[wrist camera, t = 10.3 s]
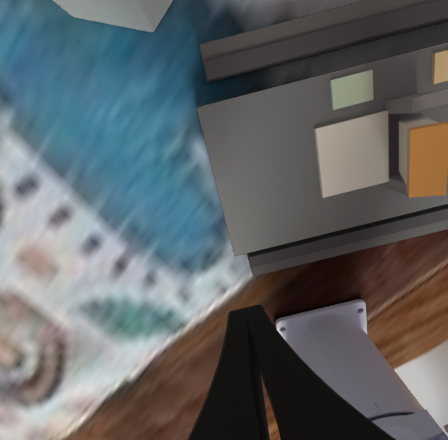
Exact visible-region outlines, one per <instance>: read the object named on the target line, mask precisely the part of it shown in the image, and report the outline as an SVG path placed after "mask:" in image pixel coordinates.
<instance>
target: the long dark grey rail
mask: <svg viewBox="0 0 448 440" xmlns="http://www.w3.org/2000/svg"><path fill="white" fill-rule="evenodd" d="M446 21H448V0H365V1H362V2H358V3H354V4H350V5H346V6H343V7H339V8H335V9H331V10H328V11H324V12H320V13H316V14H312V15H309V16H305V17H301V18H297V19H293V20H290V21H286V22H282V23H278V24H275V25H271V26H267V27H263V28H259V29H256V30H252V31H248V32H244V33H241V34H237V35H233V36H229V37H225V38H222V39H218V40H214V41H210V42H207V43H203V44H199V48H200V55H201V59H202V63H203V67H204V72H205V76H206V80H207V84H208V83H212V82H216V81H220V80H223V79H227V78H231V77H235V76H239V75H243V74H246V73H250V72H254V71H258V70H262V69H266V68H269V67H273V66H277V65H281V64H285V63H289V62H292V61H296V60H300V59H304V58H308V57H312V56H315V55H319V54H323V53H327V52H331V51H334V50H338V49H342V48H346V47H350V46H354V45H357V44H361V43H365V42H369V41H373V40H377V39H380V38H384V37H388V36H392V35H396V34H400V33H403V32H407V31H411V30H415V29H419V28H423V27H426V26H430V25H434V24H438V23H442V22H446Z"/></svg>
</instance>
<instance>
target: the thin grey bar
mask: <svg viewBox="0 0 448 440" xmlns="http://www.w3.org/2000/svg"><path fill="white" fill-rule="evenodd" d="M445 229H448V204H445V205H441V206H437V207H433V208H429V209H425V210H421V211H417V212H413V213H408V214H404V215H400V216H396V217H392V218H388V219H384V220H380V221H376V222H372V223H368V224H364V225H360V226H356V227H352V228H348V229H344V230H340V231H335V232H331V233H327V234H323V235H319V236H315V237H311V238H307V239H303V240H299V241H295V242H291V243H287V244H283V245H279V246H275V247H271V248H267V249H262V250H258V251H254V252H250V253H247V255H248V259H249V263H250V267H251V270H252V274H253V276H257V275H261V274H265V273H269V272H274V271H278V270H282V269H286V268H290V267H294V266H298V265H302V264H306V263H310V262H314V261H318V260H323V259H327V258H331V257H335V256H339V255H343V254H347V253H351V252H355V251H359V250H363V249H368V248H372V247H376V246H380V245H384V244H388V243H392V242H396V241H400V240H404V239H408V238H412V237H417V236H421V235H425V234H429V233H433V232H437V231H441V230H445Z"/></svg>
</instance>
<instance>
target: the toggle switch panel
mask: <svg viewBox="0 0 448 440" xmlns="http://www.w3.org/2000/svg"><path fill="white" fill-rule="evenodd" d="M197 111H198V115H199V119H200V123H201V127H202V131H203V135H204V139H205V143H206V146H207V150H208V154H209V158H210V162H211V166H212V170H213V174H214V178H215V182H216V186H217V189H218V193H219V197H220V201H221V205H222V209H223V213H224V217H225V221H226V225H227V229H228V232H229V236H230V240H231V244H232V248H233V252H234V256H238V255H242V254H246V253H250V252H254V251H258V250H262V249H267V248H271V247H275V246H279V245H283V244H287V243H291V242H295V241H299V240H303V239H307V238H311V237H315V236H319V235H323V234H327V233H331V232H335V231H340V230H344V229H348V228H352V227H356V226H360V225H364V224H368V223H372V222H376V221H380V220H384V219H388V218H392V217H396V216H400V215H404V214H408V213H413V212H417V211H421V210H425V209H429V208H433V207H437V206H441V205H445V204H448V172H447V186H446V195H440V196H426V197H411V198H409V197H408V195H407V192H406V184H405V182H404V180H403V178H402V176H401V174H400V172H399V121H400V117H401V116H403V115H408V114H413V113H422V117H423V116H425V117H427V118H429V119H432V120H434V121H436V122H445V121H446V122H448V42H447V43H443V44H439V45H435V46H431V47H428V48H424V49H420V50H416V51H412V52H408V53H404V54H401V55H397V56H393V57H389V58H385V59H381V60H377V61H374V62H370V63H366V64H362V65H358V66H354V67H350V68H347V69H343V70H339V71H335V72H331V73H327V74H323V75H320V76H316V77H312V78H308V79H304V80H300V81H297V82H293V83H289V84H285V85H281V86H277V87H273V88H270V89H266V90H262V91H258V92H254V93H250V94H246V95H243V96H239V97H235V98H231V99H227V100H223V101H219V102H216V103H212V104H208V105H204V106H200V107H197Z"/></svg>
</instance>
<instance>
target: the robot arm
mask: <svg viewBox="0 0 448 440" xmlns="http://www.w3.org/2000/svg"><path fill="white" fill-rule="evenodd" d="M360 308H361V309H360ZM359 309H360V310H359ZM275 324H276V328H275V326H274V325H273V324H272V322H271V321H270V319H269V318H268V316H267V314H266V313H265V311H264V309H263V307H262V306H261V305H255V306H251V307H247V308H243V309H239V310H234V311H230V312H229V314H228V322H227V329H226V334H225V339H224V343H223V347H222V351H221V355H220V359H219V362H218V365H217V368H216V371H215V375H214V378H213V381H212V384H211V386H210V389H209V392H208V394H207V397H206V399H205V402H204V404H203V407H202V409H201V411H200V414H199V416H198V418H197V420H196V423H195V425H194V427H193V429H192V431H191V433H190V435H189V438H188V440H270V438H269V431H268V424H267V417H266V409H265V402H264V395H263V387H262V380H261V375H262V378H263V381H264V384H265V387H266V391H267V394H268V397H269V400H270V403H271V406H272V409H273V413H274V416H275V419H276V422H277V425H278V429H279V433H280V437H281V440H448V437H447V436H446V435H445V433H444V432H443V431H442V429H441V428H440V427H439V426H438V424H437V423H436V422H435V420H434V419H433V418H432V416H431V415H430V414H429V413H428V411H427V410H425V409H424V408H423V407H422V406H421V405H420V403H419V402H418V401H417V399H416V398H415V397H414V395H413V394H412V393H411V392H410V390H409V389H408V388H407V386H406V385H405V384H404V382H403V381H402V380H401V379H400V377H399V376H398V375H397V373H396V372H395V371H394V370H393V368H392V367H391V366H390V364H389V363H388V362H387V360H386V359H385V358H384V357H383V355H382V354H381V353H380V351H379V350H378V349H377V347H376V346H375V345H374V344H373V342H372V341H371V340H370V338H369V337H368V336H367V321H366V304H365V302H364V301H363V300H361V299H357V300H353V301H348V302H344V303H340V304H336V305H332V306H328V307H324V308H319V309H315V310H311V311H307V312H303V313H299V314H294V315H290V316H286V317H282V318H279V319H277V320H276V322H275ZM282 327H284V328H282ZM280 328H282V329H280ZM260 372H261V373H260ZM444 428H445V430H446V431H447V432H448V424H447V425H445V426H444Z"/></svg>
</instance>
